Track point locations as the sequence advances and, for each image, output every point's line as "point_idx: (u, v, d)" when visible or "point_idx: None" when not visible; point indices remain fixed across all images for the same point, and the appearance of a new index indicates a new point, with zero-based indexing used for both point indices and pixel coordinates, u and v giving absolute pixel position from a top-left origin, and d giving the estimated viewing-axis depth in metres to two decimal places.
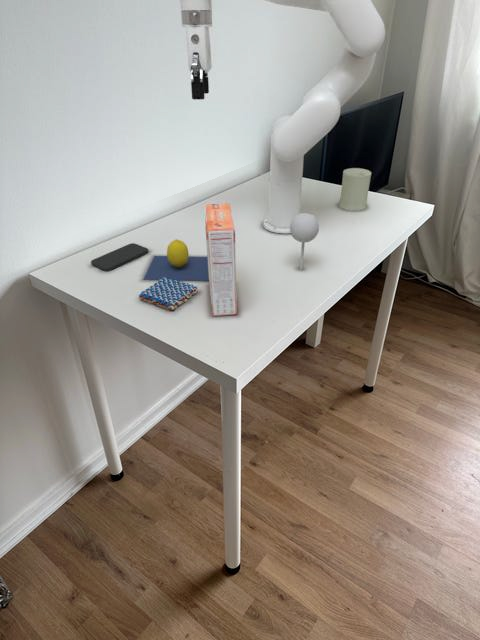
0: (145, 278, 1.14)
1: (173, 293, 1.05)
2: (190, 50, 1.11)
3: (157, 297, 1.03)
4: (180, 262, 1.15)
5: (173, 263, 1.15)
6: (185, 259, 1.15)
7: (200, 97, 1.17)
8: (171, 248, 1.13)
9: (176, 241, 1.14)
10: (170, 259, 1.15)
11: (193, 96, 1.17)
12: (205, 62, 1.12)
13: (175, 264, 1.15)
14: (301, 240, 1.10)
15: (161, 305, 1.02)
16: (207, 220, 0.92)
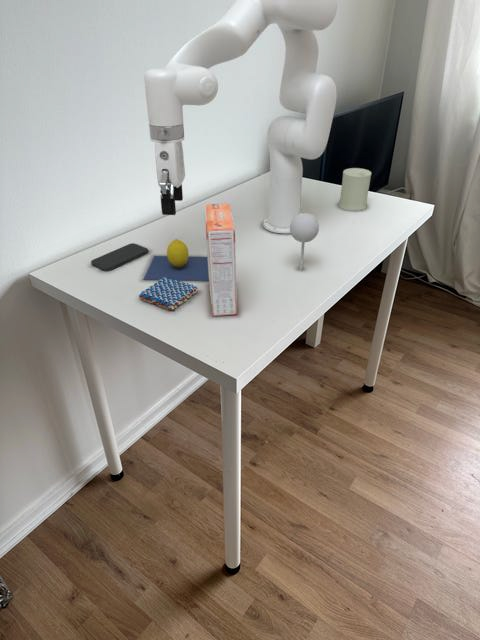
0: (145, 278, 1.14)
1: (173, 293, 1.05)
2: (159, 166, 0.99)
3: (157, 297, 1.03)
4: (180, 262, 1.15)
5: (173, 263, 1.15)
6: (185, 259, 1.15)
7: (171, 213, 1.05)
8: (171, 248, 1.13)
9: (176, 241, 1.14)
10: (170, 259, 1.15)
11: (163, 211, 1.05)
12: (176, 179, 1.01)
13: (175, 264, 1.15)
14: (301, 240, 1.10)
15: (161, 305, 1.02)
16: (207, 220, 0.92)
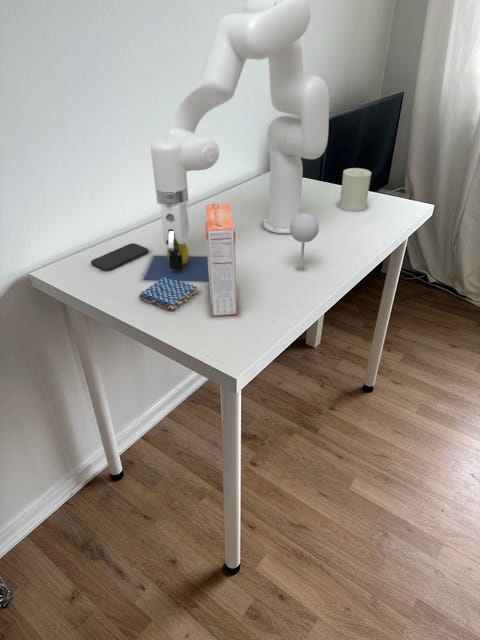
0: (145, 278, 1.14)
1: (173, 293, 1.05)
2: (165, 227, 1.07)
3: (157, 297, 1.03)
4: None
5: None
6: (185, 259, 1.15)
7: (178, 267, 1.15)
8: None
9: (176, 241, 1.14)
10: None
11: (171, 266, 1.14)
12: (181, 237, 1.08)
13: None
14: (301, 240, 1.10)
15: (161, 305, 1.02)
16: (207, 220, 0.92)
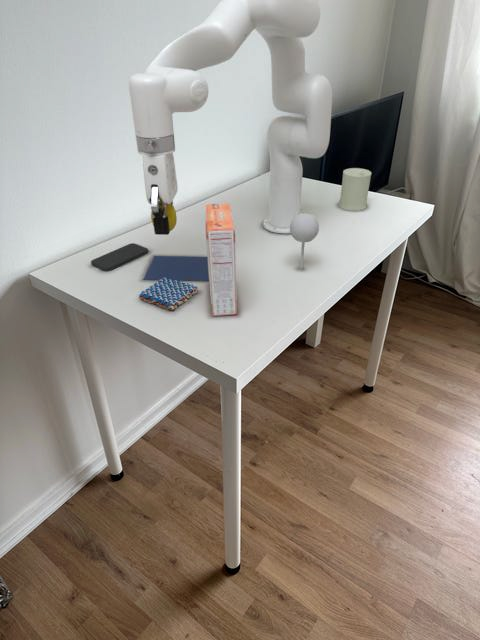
0: (145, 278, 1.14)
1: (173, 293, 1.05)
2: (147, 182, 0.90)
3: (157, 297, 1.03)
4: None
5: None
6: (172, 223, 0.98)
7: (164, 232, 0.97)
8: None
9: (161, 201, 0.97)
10: None
11: (156, 231, 0.97)
12: (166, 195, 0.91)
13: None
14: (301, 240, 1.10)
15: (161, 305, 1.02)
16: (207, 220, 0.92)
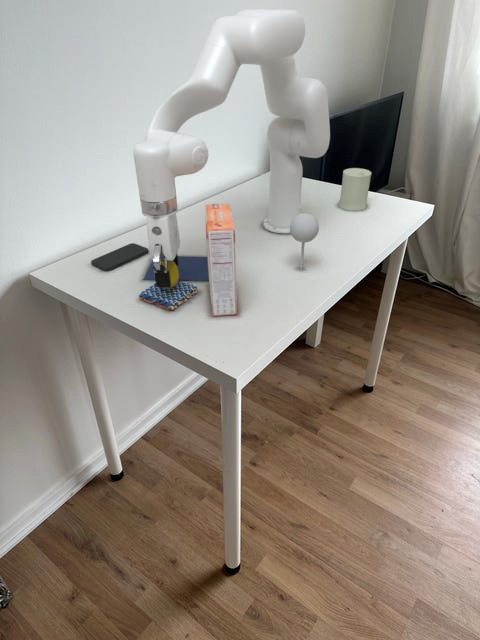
0: (145, 278, 1.14)
1: (173, 293, 1.05)
2: (151, 241, 0.94)
3: (157, 297, 1.03)
4: None
5: None
6: (175, 280, 1.03)
7: (166, 285, 1.00)
8: None
9: None
10: None
11: (157, 284, 1.00)
12: (170, 253, 0.95)
13: None
14: (301, 240, 1.10)
15: (161, 305, 1.02)
16: (207, 220, 0.92)
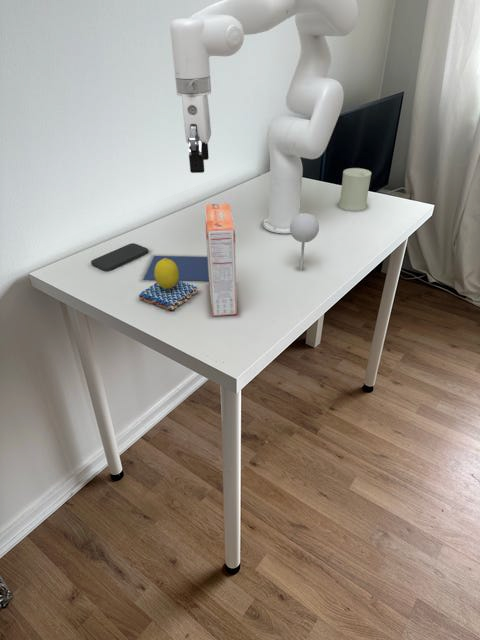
0: (145, 278, 1.14)
1: (173, 293, 1.05)
2: (187, 122, 0.98)
3: (157, 297, 1.03)
4: (169, 284, 1.02)
5: (161, 285, 1.03)
6: (175, 280, 1.03)
7: (199, 170, 1.04)
8: (159, 268, 1.01)
9: (164, 260, 1.01)
10: (158, 280, 1.02)
11: (192, 169, 1.03)
12: (204, 134, 0.99)
13: (163, 286, 1.03)
14: (301, 240, 1.10)
15: (161, 305, 1.02)
16: (207, 220, 0.92)
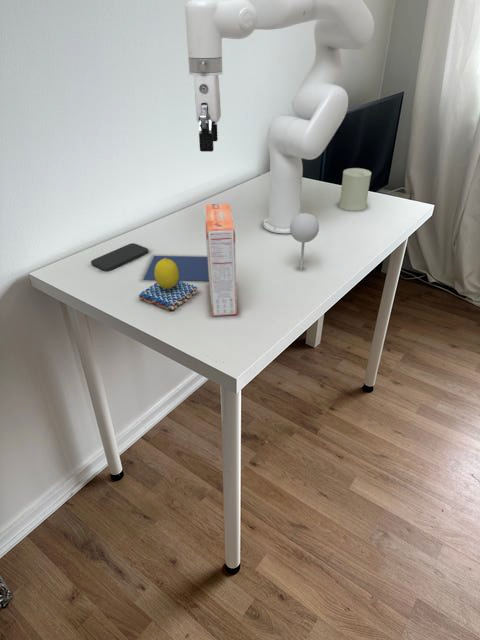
0: (145, 278, 1.14)
1: (173, 293, 1.05)
2: (198, 100, 1.01)
3: (157, 297, 1.03)
4: (169, 284, 1.02)
5: (161, 285, 1.03)
6: (175, 280, 1.03)
7: (209, 149, 1.06)
8: (159, 268, 1.01)
9: (164, 260, 1.01)
10: (158, 280, 1.02)
11: (201, 148, 1.06)
12: (215, 113, 1.02)
13: (163, 286, 1.03)
14: (301, 240, 1.10)
15: (161, 305, 1.02)
16: (207, 220, 0.92)
